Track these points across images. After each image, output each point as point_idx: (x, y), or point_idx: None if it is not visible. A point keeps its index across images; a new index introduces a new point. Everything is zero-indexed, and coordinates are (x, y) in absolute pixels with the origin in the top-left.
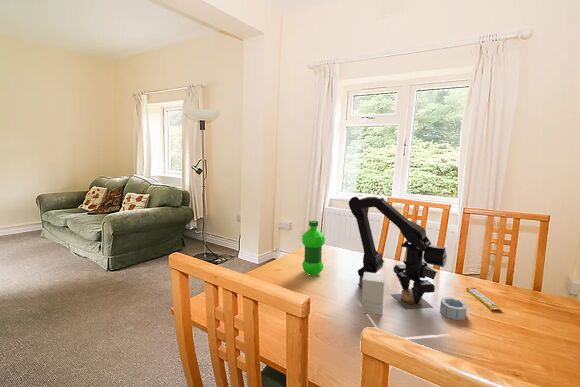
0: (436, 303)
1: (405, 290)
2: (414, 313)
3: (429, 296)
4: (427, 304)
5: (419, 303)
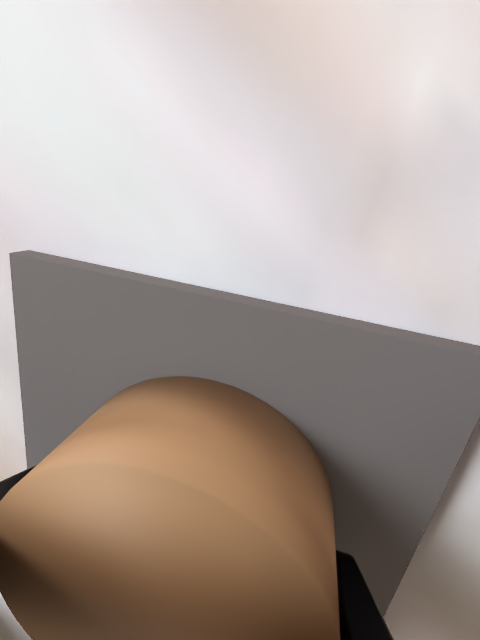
0: (374, 124)
1: (42, 612)
2: (441, 629)
3: (117, 58)
4: (379, 374)
5: (329, 497)
